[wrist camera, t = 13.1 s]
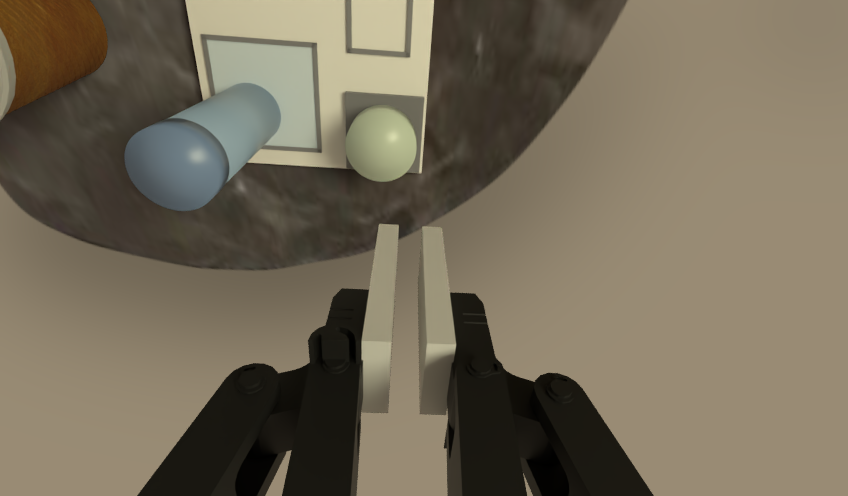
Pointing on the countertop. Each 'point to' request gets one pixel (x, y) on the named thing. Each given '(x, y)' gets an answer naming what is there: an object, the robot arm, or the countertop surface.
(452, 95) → the countertop surface
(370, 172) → the button
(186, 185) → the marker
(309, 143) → the sheet
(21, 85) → the disposable coffee cup
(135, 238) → the countertop surface
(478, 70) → the countertop surface
